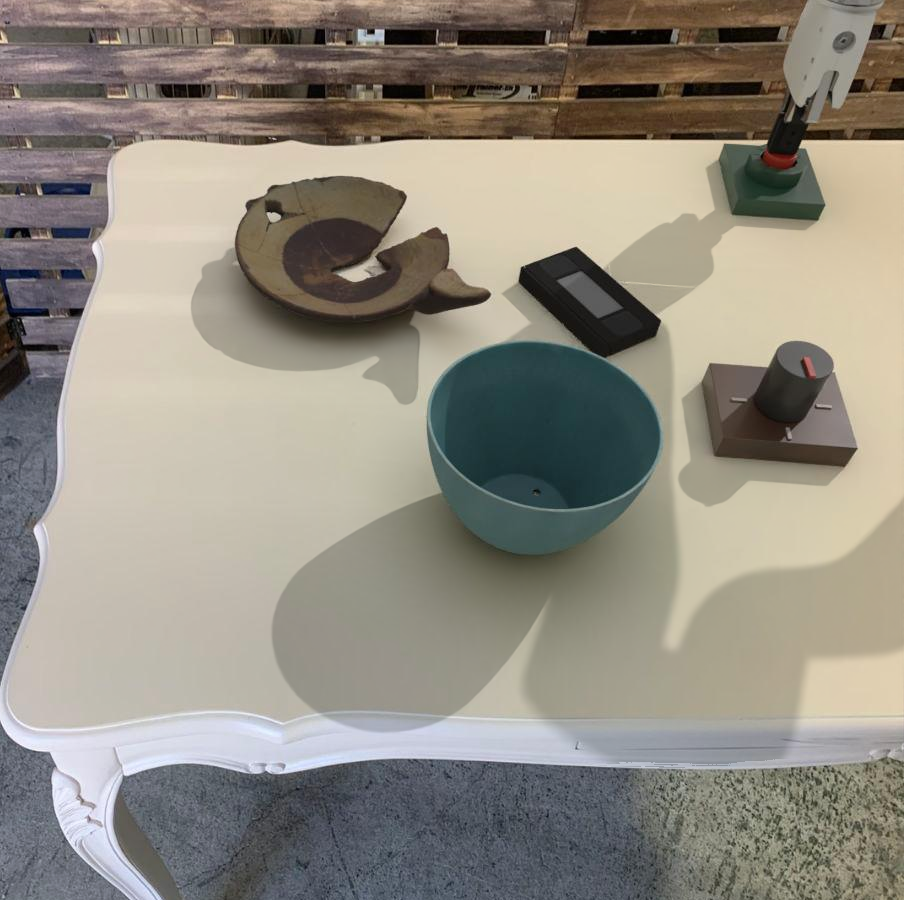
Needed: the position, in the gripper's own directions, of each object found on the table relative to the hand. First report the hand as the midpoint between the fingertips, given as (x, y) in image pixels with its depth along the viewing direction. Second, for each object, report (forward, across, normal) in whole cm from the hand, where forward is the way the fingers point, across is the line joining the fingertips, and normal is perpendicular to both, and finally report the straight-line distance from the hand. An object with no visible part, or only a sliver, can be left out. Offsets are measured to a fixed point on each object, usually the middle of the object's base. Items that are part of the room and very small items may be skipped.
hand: (780, 150), depth 106 cm
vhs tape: (+5, -25, +23) cm, 34 cm away
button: (+2, 0, 0) cm, 2 cm away
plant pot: (+5, -54, +30) cm, 62 cm away
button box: (+5, 0, 0) cm, 5 cm away
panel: (+5, -40, +6) cm, 41 cm away
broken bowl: (+6, -25, +48) cm, 54 cm away
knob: (+2, -40, +6) cm, 41 cm away
